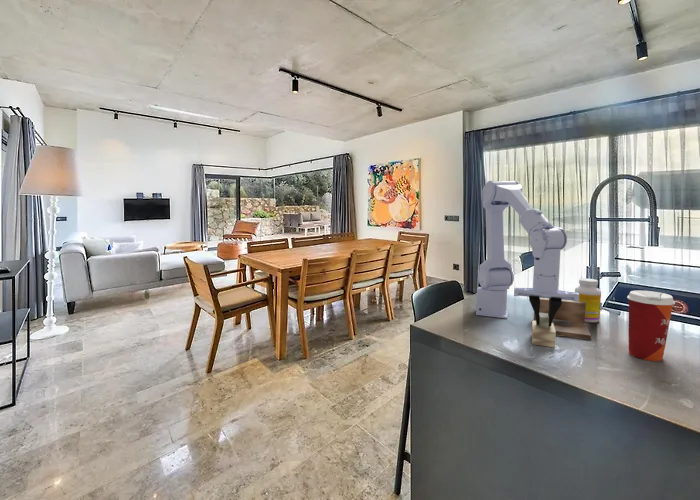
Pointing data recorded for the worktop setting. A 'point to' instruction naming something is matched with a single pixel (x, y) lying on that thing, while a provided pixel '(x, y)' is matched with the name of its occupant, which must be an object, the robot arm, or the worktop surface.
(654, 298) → the coffee cup
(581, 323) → the cleat board
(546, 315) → the saddle block
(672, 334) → the worktop surface
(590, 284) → the supplement bottle
